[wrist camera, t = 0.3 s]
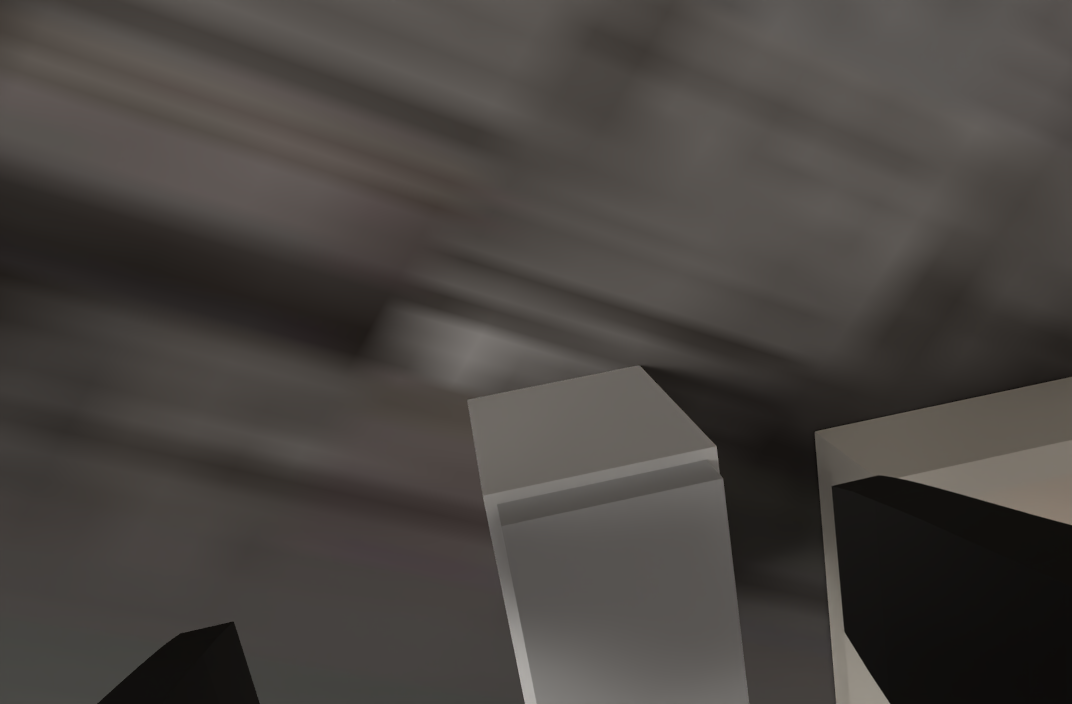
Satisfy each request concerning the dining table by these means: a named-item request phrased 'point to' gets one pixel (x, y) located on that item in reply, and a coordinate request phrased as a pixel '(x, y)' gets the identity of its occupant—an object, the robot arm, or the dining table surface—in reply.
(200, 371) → the dining table surface
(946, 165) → the dining table surface
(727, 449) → the dining table surface
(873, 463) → the walled box
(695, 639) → the grey plug
